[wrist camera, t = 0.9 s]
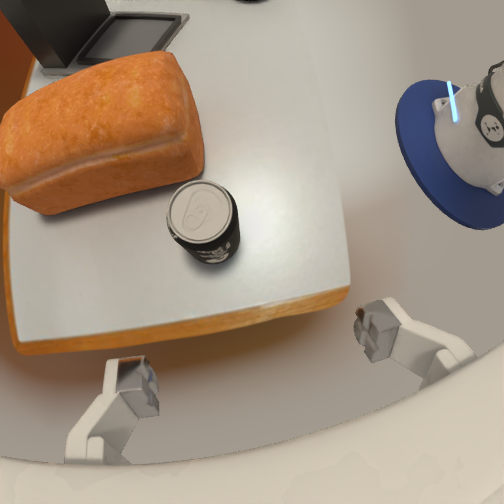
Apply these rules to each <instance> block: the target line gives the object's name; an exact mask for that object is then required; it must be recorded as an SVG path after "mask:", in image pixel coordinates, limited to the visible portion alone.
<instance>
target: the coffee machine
mask: <svg viewBox="0 0 504 504" xmlns="http://www.w3.org/2000/svg"><path fill="white" fill-rule="evenodd" d="M0 10H1V11H2V12H3V14H4V15H5V17H6V18H7V19H8V21H9V22H10V23H11V25H12V26H13V28H14V29H15V30H16V32H17V33H18V34H19V36H20V37H21V38H22V40H23V41H24V42H25V44H26V45H27V47H28V48H29V49H30V51H31V52H32V53H33V54H34V56H35V57H36V58H37V60H38V61H39V62H40V64H41V65H42V66H43V68H44V69H43V70H42V74H43V75H66V76H70V75H72V74H74V73H77V72H79V71H81V70H84V69H86V68H89V67H92V66H94V65H97V64H100V63H103V62H107V61H110V60H114V59H117V58H121V57H125V56H130V55H135V54H140V53H146V52H153V51H165V49H166V48H167V47H168V45H169V44H170V42H171V41H172V40H173V38H174V37H175V36H176V34H177V33H178V32H179V31H180V29H181V28H182V27H183V26H184V24H185V23H186V22H187V21H188V19H189V18H190V17H189V14H180V13H165V12H109V9H108V7H107V5H106V2H105V0H0Z"/></svg>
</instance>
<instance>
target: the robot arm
mask: <svg viewBox="0 0 504 504" xmlns="http://www.w3.org/2000/svg"><path fill="white" fill-rule="evenodd" d="M500 66H501V67H500ZM497 67H500V68H499V69H498V70H497V71H496V72H492V70H493V69H494V68H497ZM447 86H448V91H449V96H450V97H445V98H439V99H436V100H434V101H433V102H432V107H433V111H434V114H435V125H434V131H435V137H436V141H437V144H438V147H439V149H440V151H441V153H442V155H443V157H444V159H445V160H446V162H447V163H448V165H449V166H450V167H451V169H452V170H453V171H454V172H455V173H456V174H457V175H458V176H459V177H460V178H461V179H462V180H464V181H465V182H467V183H468V184H470V185H472V186H475V187H479V188H484V189H486V190H488V191H489V192H490V193H492V194H493V195H495V196H498V195H499V194H500V193H501V192H502V190H503V188H504V61H502V62H500V63H498V64H496V65H493V66H491V67H490V69H489V72H488V76H486V77H485V78H484V79H483V80H482V81H481V83H480V84H479V85H477V84H476V83H473V84H471V85H470V86H469V85H466V86H463V87H462V88H461V89H460V90H459V91H458V92H457V93H456V94H455V95H454V96H453V91H452V86H451V82H450V81H448V82H447ZM356 315H357V317H358V318H357V319H356V321H355V322H354V333H355V336H356V339H357V341H358V343H359V344H361V345H363V346H365V351H364V352H365V354H366V355H367V357H368V359H369V360H370V362H371V363H375V362H377V361H380V360H383V359H386V358H389V357H390V359H392V360H394V361H395V362H397V363H399V364H400V365H402V366H404V367H405V368H407V369H409V370H410V371H412V372H414V373H415V374H417V375H419V376H420V377H422V378H424V379H423V382H422V383H421V385H420V387H419V390H418V391H417V392H415V393H413V394H411V395H408V396H407V397H404V398H402V399H400V400H398V401H395V402H393V403H391V404H389V405H386V406H384V407H382V408H379V409H377V410H374V411H372V412H369V413H367V414H364V415H362V416H359V417H357V418H354V419H351V420H349V421H346V422H343V423H340V424H338V425H335V426H332V427H329V428H326V429H323V430H320V431H316V432H313V433H310V434H307V435H304V436H300V437H296V438H293V439H289V440H286V441H282V442H278V443H274V444H270V445H266V446H262V447H258V448H253V449H249V450H244V451H239V452H234V453H229V454H223V455H217V456H211V457H204V458H198V459H191V460H182V461H173V462H163V463H150V464H135V465H134V464H133V465H132V464H131V463H130V462H129V461H128V460H127V459H126V458H124V457H123V456H122V455H121V452H122V451H123V449H124V447H125V445H126V443H127V441H128V439H129V437H130V436H131V434H132V432H133V430H134V428H135V426H136V425H137V423H138V421H139V418H145V417H153V416H159V401H158V399H157V397H156V395H157V393H158V392H159V391H158V381H157V377H156V374H155V372H154V370H153V369H152V368H151V367H149V360H148V359H147V357H146V356H145V355H143V356H135V357H127V358H120V359H112V360H108V361H107V363H106V369H105V376H104V383H103V392H102V394H100V395H98V396H97V398H96V399H95V400H94V402H93V403H92V404H91V406H90V407H89V408H88V409H87V410H86V412H85V413H84V414H83V415H82V417H81V418H80V419H79V421H78V422H77V423H76V424H75V426H74V427H73V428H72V430H71V431H70V432H69V434H68V435H67V439H66V449H65V457H64V464H59V463H48V462H38V461H30V460H23V459H16V458H10V457H4V456H0V504H504V341H503V342H501V343H500V344H498V345H497V346H495V347H494V348H492V349H491V350H489V351H488V352H486V353H484V354H483V355H481V356H480V357H477V356H476V355H475V353H474V352H473V351H472V350H471V349H470V348H469V346H468V345H467V344H466V343H465V341H464V340H463V339H462V338H460V337H457V336H455V335H452V334H450V333H447V332H445V331H442V330H440V329H438V328H435V327H433V326H430V325H427V324H425V323H423V322H420V321H418V320H412V319H411V318H410V317H409V316H408V314H407V313H406V312H405V311H404V310H403V308H402V307H401V306H400V305H399V304H398V303H397V302H396V300H395V299H394V298H393V297H391V296H389V297H386V298H383V299H380V300H376V301H373V302H370V303H367V304H364V305H361V306H358V307H357V309H356Z"/></svg>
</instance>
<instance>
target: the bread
mask: <svg viewBox="0 0 504 504" xmlns="http://www.w3.org/2000/svg"><path fill="white" fill-rule="evenodd" d="M203 168H204V143H203V138H202V133H201V127H200V122H199V116H198V111H197V108H196V105H195V101H194V98H193V95H192V92H191V89H190V85H189V83H188V81H187V79H186V77H185V75H184V73H183V71H182V70H181V68H180V66H179V64H178V62H177V60H176V58H175V56H174V55H173V54H172V53H170V52H165V51H153V52H146V53H140V54H135V55H130V56H125V57H121V58H117V59H114V60H110V61H107V62H103V63H100V64H97V65H94V66H92V67H89V68H86V69H84V70H81V71H79V72H77V73H74V74H72V75H70V76H68V77H65V78H63V79H61V80H59V81H56V82H54V83H52V84H50V85H47V86H45V87H43V88H41V89H39V90H37V91H36V92H34V93H32V94H30V95H29V96H27V97H25V98H24V99H22V100H20V101H19V102H17V103H16V104H15V105H14V106H12V107H11V108H10V110H8V111H7V112H6V113H5V114H4V117H3V120H2V122H1V125H0V188H2V189H5V190H7V191H8V193H9V194H10V196H11V197H12V199H13V200H14V201H15V202H17V203H19V204H21V205H23V206H26V207H28V208H30V209H32V210H34V211H36V212H39V213H41V214H43V215H54V214H57V213H61V212H64V211H67V210H70V209H74V208H77V207H81V206H84V205H88V204H91V203H95V202H99V201H102V200H106V199H109V198H113V197H117V196H120V195H125V194H129V193H133V192H138V191H142V190H147V189H151V188H156V187H160V186H164V185H168V184H173V183H177V182H182V181H186V180H189V179H191V178H194V177H196V176H198V175H199V174H200V173H201V171H202V170H203Z"/></svg>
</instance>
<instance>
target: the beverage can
mask: <svg viewBox="0 0 504 504" xmlns="http://www.w3.org/2000/svg"><path fill="white" fill-rule="evenodd" d="M167 225H168V229H169V231H170V234H171V235H172V237H173V238H174V239H175V241H176V242H178V243H179V244H180V245H181V246H182V247H183V248H184V249H186V250H187V251H188V252H189V253H190V254H191V255H192V256H194V257H195V258H196V259H197V260H199V261H201V262H203V263H207V264H218V263H221V262H224V261H226V260H227V259H229V258H230V257H231V256H232V255H233V254H234V253H235V251H236V250H237V248H238V245H239V242H240V230H239V220H238V210H237V205H236V203H235V200H234V198H233V197H232V195H231V194H230V193H229V192H228V191H227V190H226V189H225V188H223V187H222V186H220V185H218V184H216V183H214V182H211V181H207V180H196V181H191V182H189V183H186V184H184V185H183V186H181V187H180V188H179V189H178V190H177V191H176V192H175V193H174V194H173V196H172V197H171V199H170V202H169V205H168V209H167Z"/></svg>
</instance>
